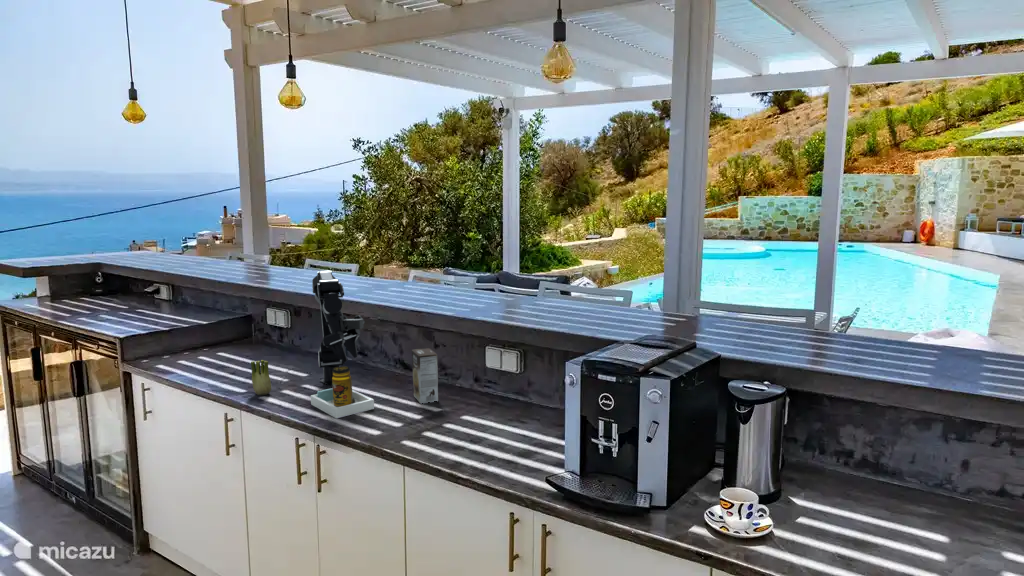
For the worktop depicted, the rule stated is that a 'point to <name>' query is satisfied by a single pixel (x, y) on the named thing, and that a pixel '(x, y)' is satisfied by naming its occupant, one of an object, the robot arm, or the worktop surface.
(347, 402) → the condiment
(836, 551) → the worktop surface
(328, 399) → the plate
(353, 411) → the pale mint tray
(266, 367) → the fennel bulb
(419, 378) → the coffee box
